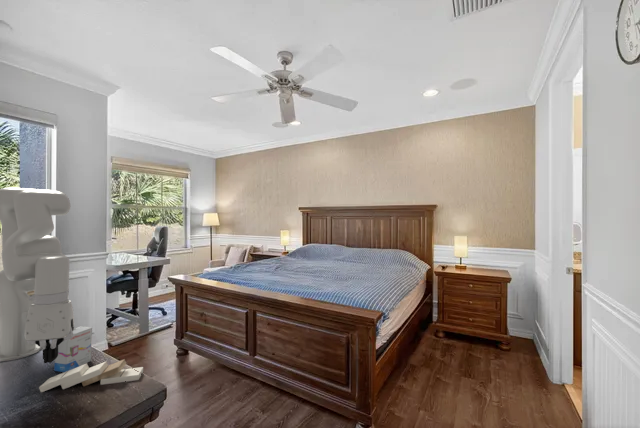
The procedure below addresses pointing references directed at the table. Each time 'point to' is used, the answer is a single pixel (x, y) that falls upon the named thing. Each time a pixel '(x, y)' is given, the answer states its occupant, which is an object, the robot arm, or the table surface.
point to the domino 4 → (123, 376)
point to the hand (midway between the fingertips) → (50, 360)
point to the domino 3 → (106, 372)
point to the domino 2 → (87, 375)
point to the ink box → (74, 350)
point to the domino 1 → (64, 377)
